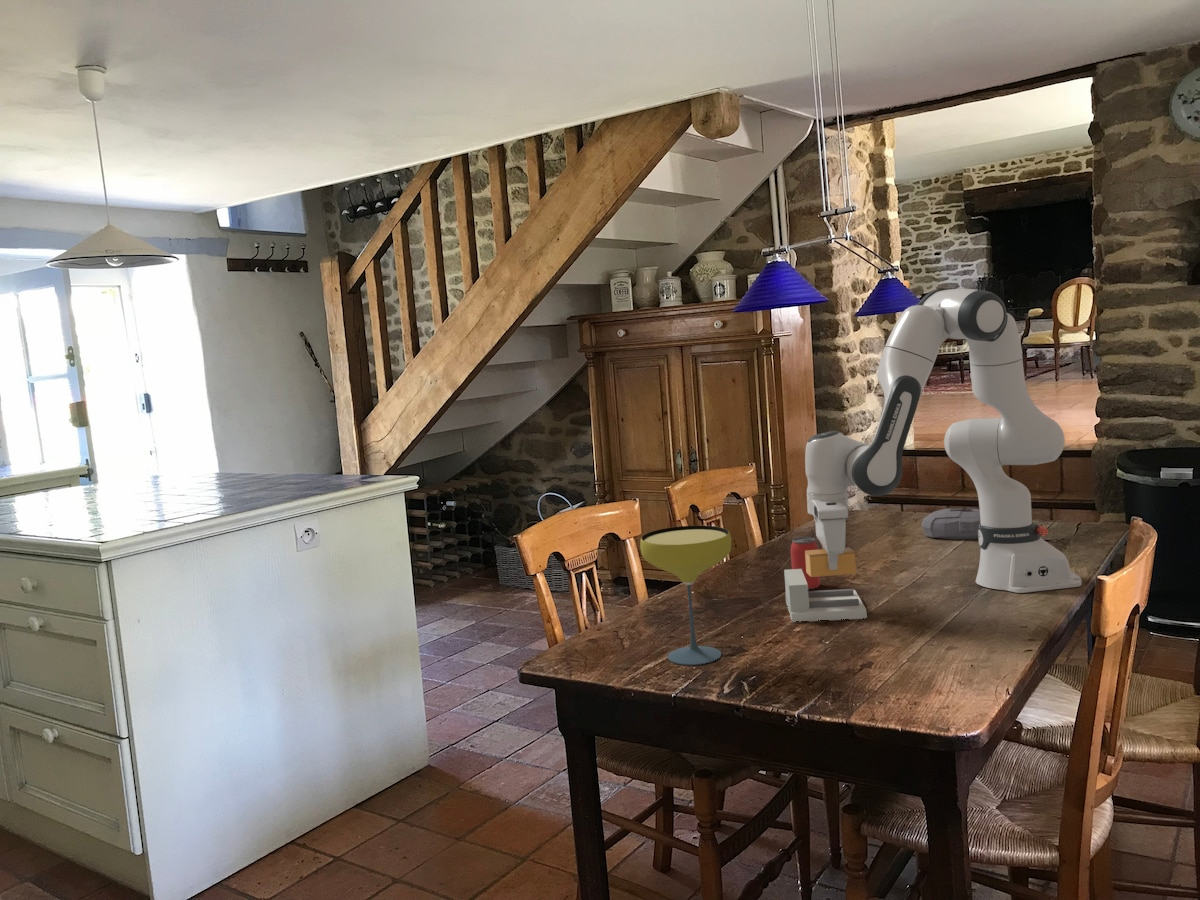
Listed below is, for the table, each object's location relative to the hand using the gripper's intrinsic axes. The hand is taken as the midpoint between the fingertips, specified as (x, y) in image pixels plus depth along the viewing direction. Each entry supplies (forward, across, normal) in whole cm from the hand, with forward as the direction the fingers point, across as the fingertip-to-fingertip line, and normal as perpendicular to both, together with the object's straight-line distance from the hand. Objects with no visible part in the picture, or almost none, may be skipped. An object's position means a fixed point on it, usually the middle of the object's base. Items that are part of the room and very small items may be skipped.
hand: (830, 565), depth 210 cm
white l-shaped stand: (+10, -1, -2) cm, 10 cm away
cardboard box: (+2, 0, 0) cm, 2 cm away
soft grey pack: (+9, -67, +45) cm, 81 cm away
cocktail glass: (+11, +26, -31) cm, 42 cm away
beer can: (+10, -21, -3) cm, 24 cm away
